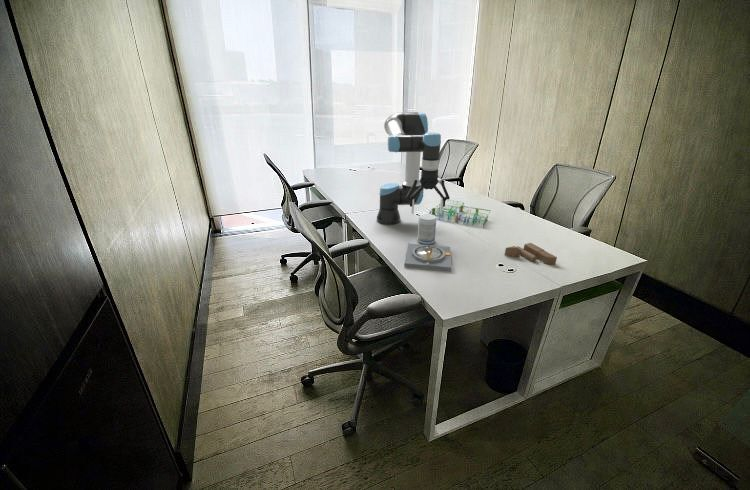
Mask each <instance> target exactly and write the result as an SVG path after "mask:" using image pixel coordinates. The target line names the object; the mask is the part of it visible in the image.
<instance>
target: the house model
mask: <svg viewBox="0 0 750 490" xmlns="http://www.w3.org/2000/svg"><path fill="white" fill-rule="evenodd" d="M446 203H447V204H445V207H443V209H442V214H440V203H438V205H436V206H435V207H433V208H431V209H430V210H429V213H428V214H432V215H435V216H436V219H439V221H440V220H441V219H443V220H444V221H445V222H449V221H453V222H454V223H457V224H459V223H462V225H465V224H466V225H468V224H470V225H471V226H474V224H478V225H480V227H481V228H482V227H483V228H484V227H485V225H486V223H487V222H488V218H489V214H490V212H491V210H490V209H484V208H477V207H473V206H465V202H460V201H458V200H456V202H455V200H452V199H451V200H450V199H449V200H446ZM464 208H467V209H469V211H466V212H464V210H463V209H464ZM472 209H474V210H475V212H472V211H471V210H472ZM479 210H482V211H487V212H488V214H486V213H484V212H482V213H481V215H479V214H480V212H479ZM468 214H469V215H468ZM484 215H486V216H484ZM446 216H447V218H446ZM452 218H453V219H452ZM462 219H463V220H462ZM469 222H470V223H469Z"/></svg>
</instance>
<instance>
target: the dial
mask: <svg viewBox="0 0 750 490" xmlns="http://www.w3.org/2000/svg"><path fill="white" fill-rule="evenodd" d="M427 245H428V246H427V247H422V248H419V249H418V250H417V253H416V254H417V256H419V257H422V258H426V259H427V260H429V259H435V258H439V257H440V256H441V252H440V251H439V250H438V249H436V248H433V247H431V246H430V245H431V244H427Z"/></svg>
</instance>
